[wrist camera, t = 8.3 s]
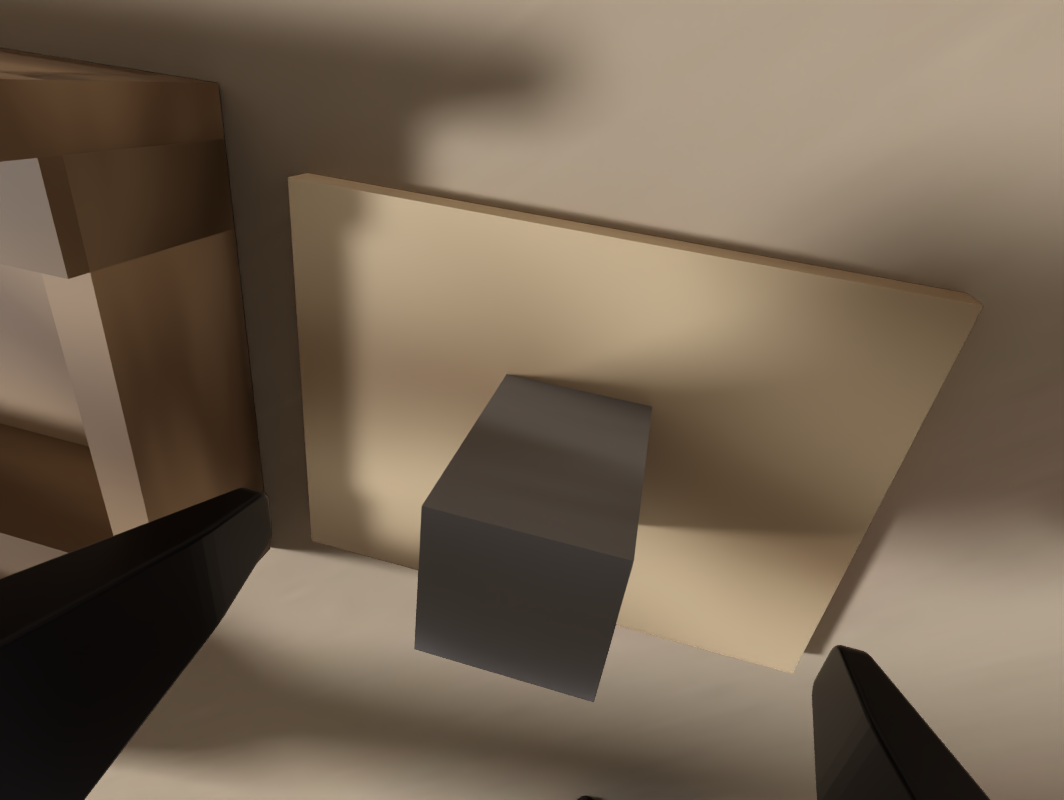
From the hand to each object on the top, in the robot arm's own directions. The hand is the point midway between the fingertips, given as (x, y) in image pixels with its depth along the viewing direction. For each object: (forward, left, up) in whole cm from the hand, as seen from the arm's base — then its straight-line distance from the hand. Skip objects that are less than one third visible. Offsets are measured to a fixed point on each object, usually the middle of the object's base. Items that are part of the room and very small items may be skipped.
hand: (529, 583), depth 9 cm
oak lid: (0, 0, -5) cm, 5 cm away
